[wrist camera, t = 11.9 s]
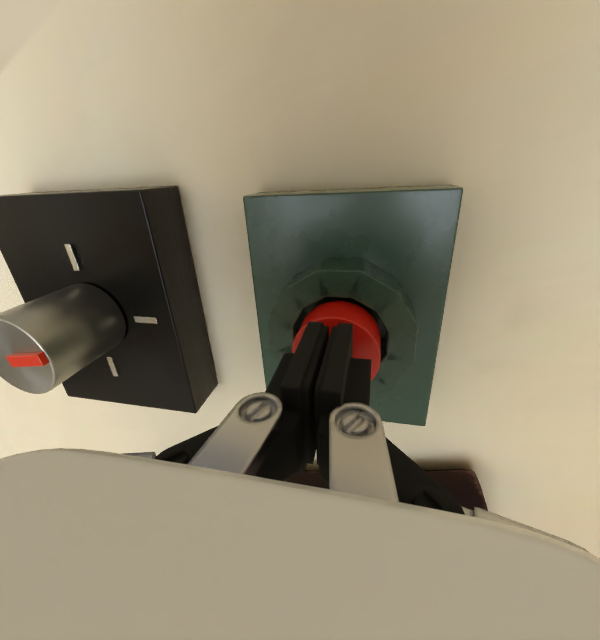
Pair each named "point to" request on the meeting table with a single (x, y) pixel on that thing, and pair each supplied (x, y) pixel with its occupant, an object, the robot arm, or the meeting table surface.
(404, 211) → the button base
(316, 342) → the robot arm
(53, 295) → the hob knob
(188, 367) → the knob base
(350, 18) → the meeting table surface
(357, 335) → the button
